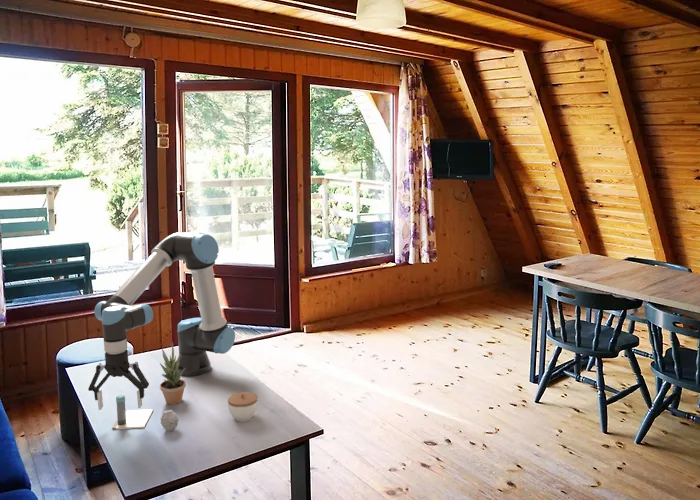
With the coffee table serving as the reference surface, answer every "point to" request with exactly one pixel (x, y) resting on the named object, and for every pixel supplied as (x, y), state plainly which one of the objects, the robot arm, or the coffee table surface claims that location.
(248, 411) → the lidded jar
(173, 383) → the potted plant
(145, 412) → the notepad
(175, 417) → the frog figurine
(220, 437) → the coffee table surface
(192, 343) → the robot arm
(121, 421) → the marker
